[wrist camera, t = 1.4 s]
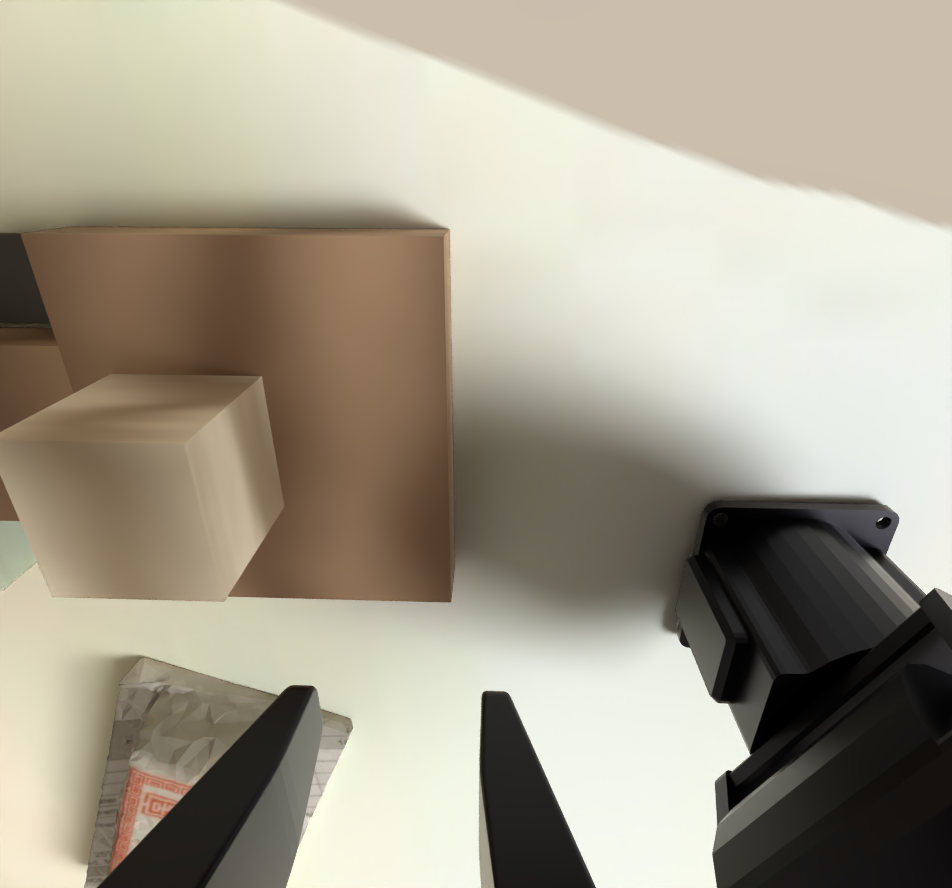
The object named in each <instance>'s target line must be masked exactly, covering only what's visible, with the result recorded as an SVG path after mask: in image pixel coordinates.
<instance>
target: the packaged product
mask: <svg viewBox="0 0 952 888" xmlns="http://www.w3.org/2000/svg"><path fill="white" fill-rule="evenodd" d="M119 685H120V687H121V690H120V693H119V697H118V700H117V709H116V713H115V718H114V725H113V731H112V737H111V742H110V749H109V755H108V757H107V765H106V771H105V775H104V779H103V783H102V791H103V792H102V795H101V798H100V802H99V809H98V816H97V821H96V830H95V834H94V837H93V841H92V847H91V852H90V858H89V863H88V869H87V878H86V882H85V885H84V888H97V887H98V886H99V884H100V883H101V882H102V881H103V880H104V879H105V878H106V877H107V876H108V875H109V874H110V873H111V872H112V871H113V870H114V869H115V868H116V867H117V866H118V864H119V863H120V862H121V861H122V860H123V859H124V858H125V857H126V856H127V855H128V854H129V853H130V852H131V851H132V850H133V849H134V848H135V847H136V846H137V845H138V843H139V842H140V841H141V840H142V839H143V838H144V837H145V836H146V835H147V834H148V833H149V832H150V831H151V830H152V829H153V828H154V827H155V826H156V825H157V823H158V822H159V821H160V820H161V819H162V818H163V817H164V816H165V815H166V814H167V813H168V812H169V811H170V810H171V809H172V808H173V807H174V806H175V805H176V804H177V802H178V801H179V800H180V799H181V798H182V797H183V796H184V795H185V794H186V793H187V792H188V791H189V790H190V789H191V788H192V787H193V786H194V785H195V784H196V782H197V781H198V780H199V779H200V778H201V777H202V776H203V775H204V774H205V773H206V772H207V771H208V770H209V769H210V768H211V767H212V766H213V765H214V764H215V762H216V761H217V760H218V759H219V758H220V757H221V756H222V755H223V754H224V753H225V752H226V751H227V750H228V749H229V748H230V747H231V746H232V745H233V744H234V743H235V741H236V740H237V739H238V738H239V737H240V736H241V735H242V734H243V733H244V732H245V731H246V730H247V729H248V728H249V727H250V726H251V725H252V724H253V723H254V721H255V720H256V719H257V718H258V717H259V716H260V715H261V714H262V713H263V712H264V711H265V710H266V709H267V708H268V707H269V706H270V705H271V704H272V703H273V701H274V700H275V699H276V698H277V697H278V696H275V695H271V694H268V693H265V692H262V691H258V690H255V689H251V688H247V687H244V686H240V685H236V684H232V683H229V682H226V681H223V680H220V679H217V678H214V677H211V676H207V675H204V674H200V673H197V672H193V671H190V670H187V669H183V668H180V667H176V666H173V665H170V664H166V663H163V662H159V661H156V660H152V659H149V658H146V657H143V658H140V659H139V660H138V661H137V662H136V664H135V665H134V666H133V667H132V668H131V670H130V671H129V672H128V673H127V674H126V675H125V677H124V678H123V679H122V680H121V681H120V683H119ZM321 715H322V721H323V729H322V737H321V742H320V747H319V752H318V757H317V761H316V766H315V771H314V776H313V781H312V785H311V790H310V795H309V800H308V804H307V809H306V814H305V819H304V824H303V828H302V833H301V837H300V841H299V844H300V842H301V840H302V838H303V835H304V833H305V831H306V828H307V825H308V822H309V819H310V817H312V815H313V813H314V810H315V808H316V806H317V804H318V803H319V801H320V799H321V797H322V794H323V792H324V790H325V787H326V785H327V782H328V780H329V778H330V776H331V774H332V772H333V770H334V768H335V766H336V764H337V761H338V759H339V756H340V755H341V753H342V751H343V749H344V747H345V745H346V742H347V740H348V738H349V736H350V734H351V731H352V729H353V725H352V721H351V719H349V718H346V717H343V716H340V715H337V714H333V713H330V712H327V711H324V710H321Z"/></svg>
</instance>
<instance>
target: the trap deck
mask: <svg viewBox="0 0 952 888" xmlns="http://www.w3.org/2000/svg"><path fill="white" fill-rule="evenodd" d="M0 322H6V323H50V324H51V327H52V328H33V327H0V432H1V431H3V430H5V429H7V428H9V427H11V426H13V425H15V424H17V423H18V422H20V421H22V420H24V419H26V418H28V417H30V416H32V415H34V414H36V413H38V412H39V411H41V410H43V409H45V408H47V407H49V406H51V405H53V404H55V403H57V402H58V401H60V400H62V399H64V398H66V397H68V396H70V395H72V394H74V393H76V392H78V391H79V390H81V389H83V388H85V387H87V386H89V385H91V384H93V383H95V382H97V381H98V380H100V379H102V378H104V377H106V376H108V375H110V374H151V375H217V376H262V380H263V386H264V392H265V398H266V403H267V409H268V415H269V421H270V426H271V432H272V438H273V444H274V449H275V455H276V461H277V467H278V472H279V478H280V484H281V490H282V495H283V501H284V508H283V510H282V511H281V513H280V514H279V516H278V517H277V519H276V521H275V522H274V524H273V525H272V527H271V529H270V530H269V532H268V533H267V535H266V536H265V538H264V540H263V541H262V543H261V544H260V546H259V547H258V549H257V551H256V552H255V554H254V555H253V557H252V559H251V560H250V562H249V563H248V565H247V566H246V568H245V570H244V571H243V573H242V574H241V576H240V577H239V579H238V581H237V582H236V584H235V585H234V587H233V588H232V590H231V592H230V593H229V595H228V596H229V597H267V598H305V599H343V600H381V601H418V602H451V598H452V588H453V579H454V570H455V540H454V477H453V414H452V351H451V288H450V229H337V228H202V227H66V228H58V229H50V230H43V231H35V232H27V233H0ZM36 562H37V560H36V558H35V555H34V553H33V551H32V548H31V546H30V544H29V541H28V539H27V537H26V534H25V532H24V530H23V527H22V525H21V523H20V520H19V518H18V515H17V513H16V511H15V508H14V506H13V504H12V501H11V499H10V497H9V494H8V492H7V490H6V487H5V485H4V483H3V480H2V478H1V476H0V590H2V591H3V590H4V589H6V588H7V587H8V586H9V585H10V584H11V583H13V582H14V581H15V580H16V579H17V578H19V577H20V576H21V575H22V574H23V573H24V572H26V571H27V570H28V569H29V568H30V567H32V566H33V565H34V564H35V563H36Z"/></svg>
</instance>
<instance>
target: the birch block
mask: <svg viewBox="0 0 952 888" xmlns="http://www.w3.org/2000/svg"><path fill="white" fill-rule="evenodd" d="M0 476H1V478H2V480H3V483H4V485H5V487H6V490H7V492H8V494H9V497H10V499H11V501H12V504H13V506H14V508H15V511H16V513H17V515H18V518H19V520H20V523H21V525H22V527H23V530H24V532H25V534H26V537H27V539H28V541H29V544H30V546H31V548H32V551H33V553H34V555H35V558H36V560H37V562H38V565H39V567H40V569H41V572H42V574H43V577H44V579H45V581H46V584H47V586H48V588H49V591H50V593H51V595H52V597H71V598H108V599H146V600H183V601H221V602H224V601H225V600H226V598H227V596H228V595H229V593H230V592H231V590H232V588H233V587H234V585H235V584H236V582H237V581H238V579H239V577H240V576H241V574H242V573H243V571H244V570H245V568H246V566H247V565H248V563H249V562H250V560H251V559H252V557H253V555H254V554H255V552H256V551H257V549H258V547H259V546H260V544H261V543H262V541H263V540H264V538H265V536H266V535H267V533H268V532H269V530H270V529H271V527H272V525H273V524H274V522H275V521H276V519H277V517H278V516H279V514H280V513H281V511H282V510H283V508H284V501H283V495H282V490H281V484H280V478H279V472H278V467H277V461H276V455H275V449H274V444H273V438H272V432H271V426H270V421H269V415H268V409H267V403H266V398H265V392H264V386H263V380H262V376H217V375H151V374H110V375H108V376H106V377H104V378H102V379H100V380H98V381H97V382H95V383H93V384H91V385H89V386H87V387H85V388H83V389H81V390H79V391H78V392H76V393H74V394H72V395H70V396H68V397H66V398H64V399H62V400H60V401H58V402H57V403H55V404H53V405H51V406H49V407H47V408H45V409H43V410H41V411H39V412H38V413H36V414H34V415H32V416H30V417H28V418H26V419H24V420H22V421H20V422H18V423H17V424H15V425H13V426H11V427H9V428H7V429H5V430H3V431H1V432H0Z"/></svg>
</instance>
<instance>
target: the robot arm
mask: <svg viewBox="0 0 952 888" xmlns="http://www.w3.org/2000/svg"><path fill="white" fill-rule="evenodd" d="M721 513H723V516H722V517H721V518H719V519H714V517H715V516H716V515H717V514H721ZM882 517H883V519H882V520H881V521H879V522H877V521H878V519H880V518H882ZM898 523H899V517H898V515H897V514H896V513H895V512H894V511H893V510H892V509H890V508H889V507H888V506H886V505H882V504H839V503H791V502H743V501H716V502H712V503H710V504H708V505H707V506H706V507H705V508H704V510H703V512H702V516H701V521H700V525H699V530H698V534H697V539H696V544H695V548H694V553H693V554H692V555H690V557H689V558H688V559H687V560H686V563H685V567H684V572H683V577H682V582H681V586H680V591H679V596H678V601H677V605H676V613H677V616H678V618H679V622H678V627H677V636H678V638H679V641H680V643H681V644H682V645H683V646H685V647H689V648H691V650H692V653H693V655H694V658H695V660H696V663H697V665H698V668H699V670H700V673H701V675H702V677H703V680H704V682H705V685H706V687H707V690H708V692H709V695H710V696H711V697H712V698H713V699H714V700H715V701H716V702H717V703H728V704H729V707H730V709H731V711H732V714H733V716H734V718H735V720H736V723H737V725H738V727H739V730H740V732H741V734H742V737H743V739H744V741H745V743H746V746H747V748H748V750H749V753H750V754H751V755H750V756H749V757H748V758H747V759H746V760H744V761H743V762H742V763H741V764H740V765H739V766H738V767H736V768H735V769H734V770H733V771H729V770H728V771H726V772H725V773H724V774H723V775H722V776H720V777H719V778H718V779H717V780H716V781H715V792H716V810H717V831H716V836H715V842H714V848H713V853H712V855H713V862H714V869H715V876H716V883H717V888H952V595H950V594H948V593H946V592H944V591H942V590H940V589H937V588H934V589H933V590H932V591H931V592H930V593H928V594H927V595H926V594H925V593H924V592H923V591H922V590H921V589H920V588H919V587H918V586H917V585H916V584H915V583H914V582H913V581H912V580H911V579H909V578H908V577H907V576H906V575H905V574H904V573H903V572H902V571H901V570H900V569H899V568H898V567H897V566H896V565H895V564H894V563H893V562H892V561H891V560H890V559H889V558H888V557H887V556H886V553H887V551H888V548H889V546H890V543H891V541H892V538H893V536H894V533H895V531H896V528H897V526H898ZM322 729H323V721H322V715H321V709H320V704H319V698H318V693H317V690H316V688H315V687H314V686H303V685H293V686H289V687H288V688H286V689H285V690H284V691H283V692H282V693H281V694H280V695H279V696H278V697H277V698H276V699H275V700H274V701H273V703H272V704H271V705H270V706H269V707H268V708H267V709H266V710H265V711H264V712H263V713H262V714H261V715H260V716H259V717H258V718H257V719H256V720H255V721H254V723H253V724H252V725H251V726H250V727H249V728H248V729H247V730H246V731H245V732H244V733H243V734H242V735H241V736H240V737H239V738H238V739H237V740H236V741H235V743H234V744H233V745H232V746H231V747H230V748H229V749H228V750H227V751H226V752H225V753H224V754H223V755H222V756H221V757H220V758H219V759H218V760H217V761H216V762H215V764H214V765H213V766H212V767H211V768H210V769H209V770H208V771H207V772H206V773H205V774H204V775H203V776H202V777H201V778H200V779H199V780H198V781H197V782H196V784H195V785H194V786H193V787H192V788H191V789H190V790H189V791H188V792H187V793H186V794H185V795H184V796H183V797H182V798H181V799H180V800H179V801H178V802H177V804H176V805H175V806H174V807H173V808H172V809H171V810H170V811H169V812H168V813H167V814H166V815H165V816H164V817H163V818H162V819H161V820H160V821H159V822H158V823H157V825H156V826H155V827H154V828H153V829H152V830H151V831H150V832H149V833H148V834H147V835H146V836H145V837H144V838H143V839H142V840H141V841H140V842H139V843H138V845H137V846H136V847H135V848H134V849H133V850H132V851H131V852H130V853H129V854H128V855H127V856H126V857H125V858H124V859H123V860H122V861H121V862H120V863H119V864H118V866H117V867H116V868H115V869H114V870H113V871H112V872H111V873H110V874H109V875H108V876H107V877H106V878H105V879H104V880H103V881H102V882H101V883H100V884H99V886H98V887H97V888H286V885H287V882H288V879H289V876H290V873H291V869H292V866H293V863H294V860H295V856H296V853H297V849H298V846H299V841H300V837H301V833H302V828H303V824H304V819H305V814H306V809H307V804H308V800H309V795H310V790H311V785H312V781H313V776H314V771H315V766H316V761H317V757H318V752H319V747H320V742H321V737H322ZM479 860H480V875H481V888H596V887H595V885H594V882H593V880H592V878H591V876H590V873H589V871H588V869H587V867H586V865H585V862H584V860H583V858H582V856H581V853H580V851H579V849H578V847H577V844H576V842H575V840H574V838H573V835H572V833H571V831H570V829H569V826H568V824H567V822H566V820H565V818H564V815H563V813H562V811H561V809H560V806H559V804H558V802H557V800H556V797H555V795H554V793H553V791H552V788H551V786H550V784H549V782H548V779H547V777H546V775H545V773H544V770H543V768H542V766H541V764H540V762H539V759H538V757H537V755H536V753H535V750H534V748H533V746H532V744H531V741H530V739H529V737H528V735H527V732H526V730H525V728H524V726H523V723H522V721H521V719H520V717H519V715H518V712H517V710H516V708H515V706H514V703H513V701H512V699H511V697H510V695H509V694H508V693H507V692H504V691H485V692H483V694H482V698H481V729H480V763H479Z"/></svg>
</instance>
